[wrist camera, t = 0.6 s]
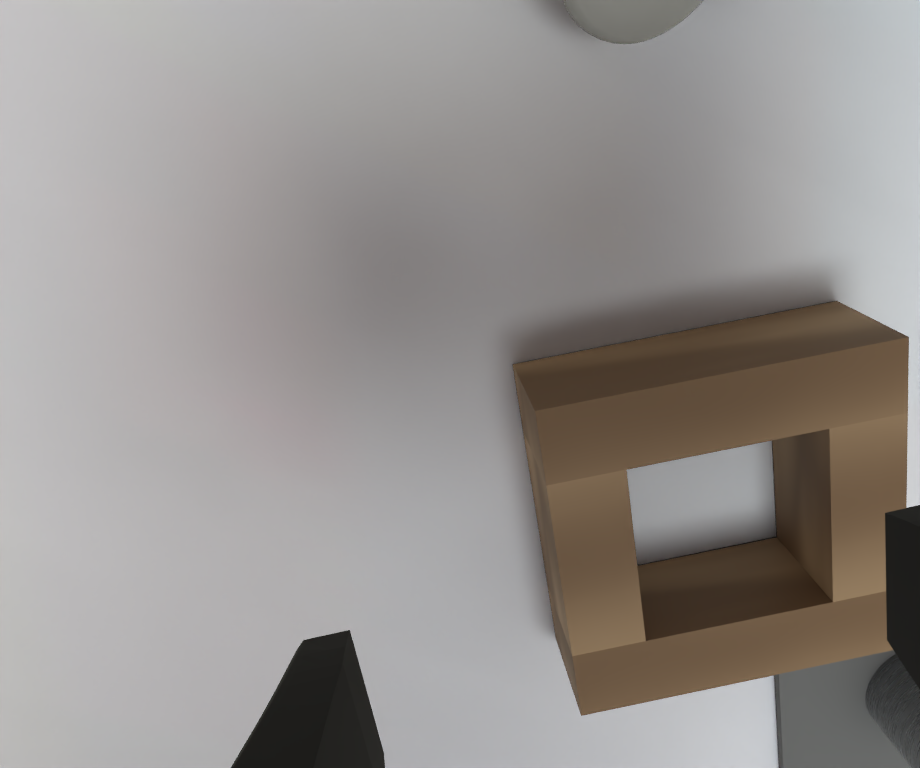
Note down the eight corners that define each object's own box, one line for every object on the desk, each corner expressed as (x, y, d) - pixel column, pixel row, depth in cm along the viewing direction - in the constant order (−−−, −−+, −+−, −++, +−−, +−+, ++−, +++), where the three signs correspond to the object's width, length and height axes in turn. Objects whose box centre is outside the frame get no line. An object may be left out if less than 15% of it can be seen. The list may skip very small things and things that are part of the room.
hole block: (841, 579, 24) (904, 647, 21) (556, 638, 24) (581, 715, 21) (836, 301, 21) (908, 337, 18) (512, 364, 21) (535, 411, 18)
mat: (1033, 745, 27) (1040, 753, 27) (781, 800, 27) (785, 808, 26) (1049, 551, 24) (1057, 557, 24) (771, 609, 24) (776, 615, 24)
